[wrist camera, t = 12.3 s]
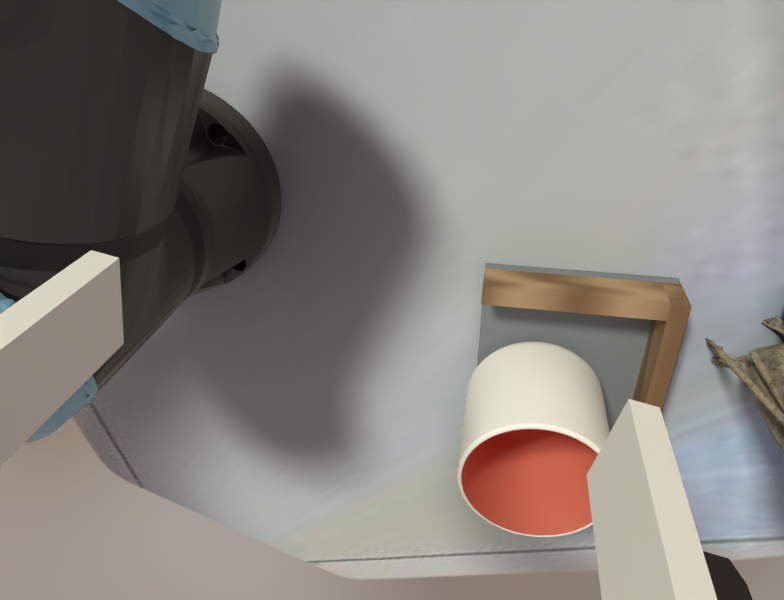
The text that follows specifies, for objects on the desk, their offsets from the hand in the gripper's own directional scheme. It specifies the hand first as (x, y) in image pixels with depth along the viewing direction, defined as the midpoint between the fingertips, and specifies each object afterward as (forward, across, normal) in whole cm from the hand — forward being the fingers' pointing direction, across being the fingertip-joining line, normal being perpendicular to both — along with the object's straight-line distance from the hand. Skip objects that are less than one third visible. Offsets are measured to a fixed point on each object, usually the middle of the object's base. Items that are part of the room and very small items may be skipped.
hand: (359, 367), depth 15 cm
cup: (+26, +11, -18) cm, 34 cm away
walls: (+27, +13, -16) cm, 34 cm away
